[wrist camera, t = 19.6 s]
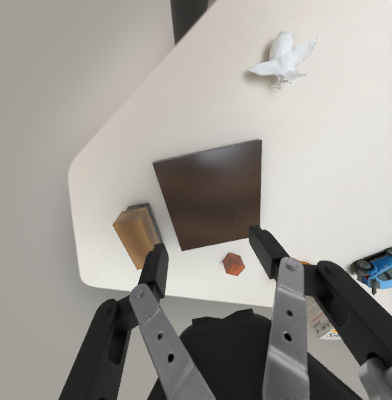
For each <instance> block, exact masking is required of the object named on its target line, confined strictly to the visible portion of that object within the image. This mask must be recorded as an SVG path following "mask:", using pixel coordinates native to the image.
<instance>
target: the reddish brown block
mask: <svg viewBox="0 0 392 400" xmlns="http://www.w3.org/2000/svg"><path fill="white" fill-rule="evenodd" d="M223 264H224V268H225V271H226V273H227V274H231V275H235V276H238V275H239V274H240V273H241V272H242V271H243V269H244V268H245V266H244V264H243V262H242V259H241V257H240V256H238V255H234V254H231V253H229V254H228V255H227V257H226V258H225V259H224V261H223Z"/></svg>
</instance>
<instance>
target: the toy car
mask: <svg viewBox="0 0 392 400" xmlns="http://www.w3.org/2000/svg"><path fill="white" fill-rule="evenodd" d="M360 264H361V265H362V266H361V265H360ZM356 265H357V267H358V269H357V272H356V274H357V277H358V278H357V280H358V281H360V282H361V283H363V284H366V285H367V286H368V287H370V288H372V294H373V295H374V294H375V293H377V292H376V288H377V289H387V288H391V287H392V248H388V249H386V254H385V255H382V256H380V257H377V258H375V259H372V260H370V261H369V262H367V261H364V260H359V261H357V262H356ZM366 265H367V266H366Z"/></svg>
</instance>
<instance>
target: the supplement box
mask: <svg viewBox="0 0 392 400" xmlns="http://www.w3.org/2000/svg"><path fill="white" fill-rule="evenodd" d="M300 263H303V262H300ZM303 264H308V263H303ZM304 297H306V308H307V322H308V323H309V325H310V326H311V328H312V329H313V331H314V332H315V334H316V335H317V337H318V338H319V339H337V340H342V339H341V337H340V336H339V334H338V333H337V331H336V330H335V328H334V327H333V326H332V324H331V323H330V321H329V320H328V318H327V317H326V316H325V314H324V313H323V311H322V310H321V308H320V307H319V305H318V304H317V303H316V301H315V300H314V298H313V297H311V296H305V295H304Z"/></svg>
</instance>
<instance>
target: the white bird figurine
mask: <svg viewBox="0 0 392 400" xmlns="http://www.w3.org/2000/svg"><path fill="white" fill-rule="evenodd" d="M316 40H317V38H315V39H312V40H310V41H308V42H306V43H303V44H301V45H300V46H299V47H297V48H296V49H295V50H293V46H294V36H293V34H292V33H291V32H289V31H286V32H284V31H283V32H280V33H279V35H278V36H277V37H276V38H275V40H274V42H273V43H272V46H271V50H270V57H269V61H267V62H262V63H259V64H258V65H256V66H254V67H251V68H249V69H247V70H250V71H252V72H254V73H257V74H259V75H261V76H263V75H276V76H277V77H278V80H279V82H278V84H277V85H276V84H274V85H272V86H270V87H269V88H271V87H276V88H279V89H280V86H278V85H279V83H289V84H292V83H291V81H293V80H294V79H296V78H297V77H301V76H305V74H301V73H297V71H296V69H295V68H296V67H297V66H298V65H299V64H300V63H301V62H302V61H304V60H305V59H306V58H307V57H308V56H309V55H310V54H311V53H312V51H313V48H314V45H315V42H316ZM292 50H293V51H292ZM284 78H287V80H283V79H284ZM281 80H283V81H281Z"/></svg>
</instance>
